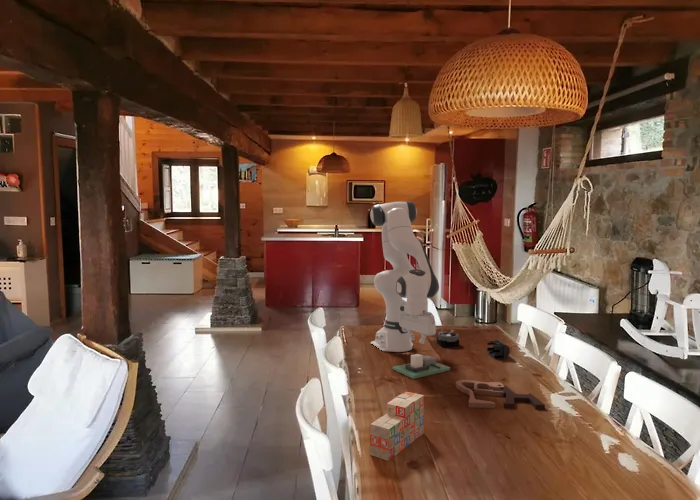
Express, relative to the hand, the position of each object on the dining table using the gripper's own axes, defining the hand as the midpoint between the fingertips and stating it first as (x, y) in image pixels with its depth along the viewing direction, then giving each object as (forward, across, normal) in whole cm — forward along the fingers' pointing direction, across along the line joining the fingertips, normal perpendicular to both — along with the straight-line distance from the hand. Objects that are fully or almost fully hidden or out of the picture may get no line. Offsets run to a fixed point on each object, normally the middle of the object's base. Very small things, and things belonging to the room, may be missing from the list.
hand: (416, 341), depth 215 cm
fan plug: (+12, 0, 0) cm, 12 cm away
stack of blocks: (+13, -48, +47) cm, 68 cm away
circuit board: (+13, +1, -3) cm, 13 cm away
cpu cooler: (+14, +24, -41) cm, 49 cm away
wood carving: (+14, -37, -7) cm, 40 cm away
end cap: (+13, -3, -46) cm, 48 cm away
